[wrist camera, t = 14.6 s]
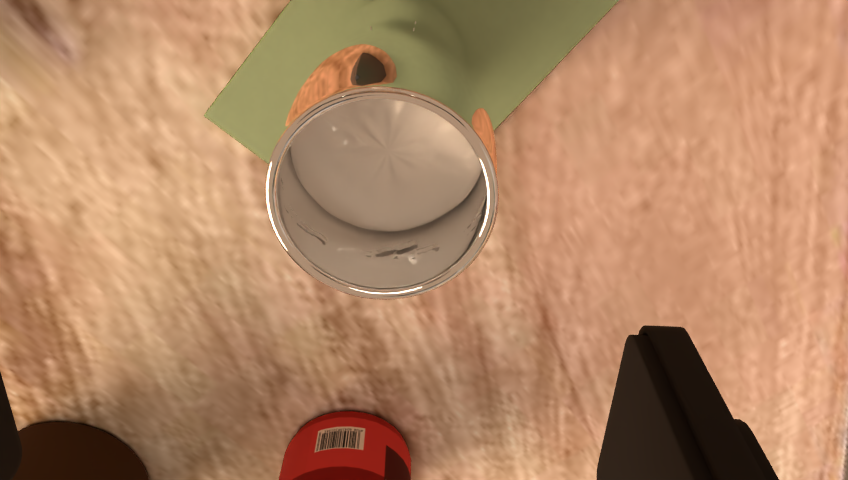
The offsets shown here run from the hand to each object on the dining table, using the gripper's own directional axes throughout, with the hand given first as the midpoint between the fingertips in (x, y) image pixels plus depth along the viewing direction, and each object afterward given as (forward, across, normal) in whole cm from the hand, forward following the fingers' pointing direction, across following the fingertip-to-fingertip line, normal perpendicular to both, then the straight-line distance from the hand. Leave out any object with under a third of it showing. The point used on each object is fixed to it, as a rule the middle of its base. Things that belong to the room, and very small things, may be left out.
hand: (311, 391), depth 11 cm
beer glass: (+25, -1, +2) cm, 25 cm away
